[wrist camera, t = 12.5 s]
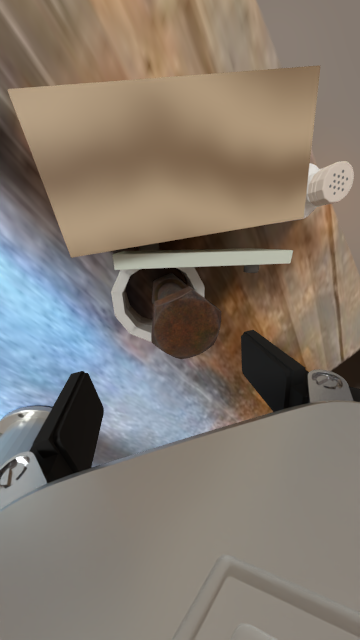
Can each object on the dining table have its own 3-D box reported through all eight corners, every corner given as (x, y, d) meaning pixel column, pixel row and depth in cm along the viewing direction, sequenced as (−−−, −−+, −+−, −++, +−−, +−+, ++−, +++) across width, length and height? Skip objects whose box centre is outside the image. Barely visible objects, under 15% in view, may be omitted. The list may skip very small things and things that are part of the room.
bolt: (191, 283, 28) (236, 323, 14) (171, 309, 29) (195, 369, 15) (159, 259, 25) (177, 278, 12) (139, 288, 27) (134, 335, 13)
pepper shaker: (253, 205, 25) (311, 185, 16) (274, 178, 24) (346, 142, 16) (270, 226, 26) (331, 217, 18) (291, 201, 26) (365, 180, 17)
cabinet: (239, 309, 31) (289, 344, 20) (129, 333, 29) (120, 386, 18) (235, 151, 22) (320, 65, 12) (79, 170, 20) (7, 89, 10)
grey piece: (240, 326, 29) (271, 353, 22) (121, 338, 26) (113, 372, 19) (250, 248, 24) (293, 250, 17) (107, 251, 21) (90, 255, 14)
